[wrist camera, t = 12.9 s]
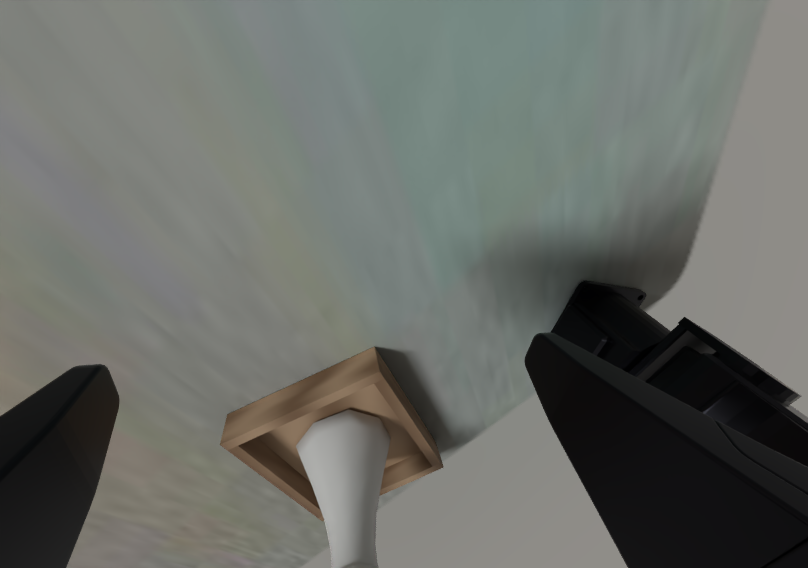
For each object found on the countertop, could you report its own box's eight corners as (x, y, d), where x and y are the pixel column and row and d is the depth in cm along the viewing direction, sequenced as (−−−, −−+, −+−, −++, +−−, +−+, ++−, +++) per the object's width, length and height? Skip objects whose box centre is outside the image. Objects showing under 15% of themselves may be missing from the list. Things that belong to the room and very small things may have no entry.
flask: (349, 394, 27) (365, 544, 18) (404, 433, 30) (438, 571, 22) (279, 444, 28) (263, 606, 19) (340, 474, 32) (349, 621, 23)
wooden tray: (374, 346, 26) (379, 371, 24) (435, 442, 33) (443, 467, 31) (227, 414, 26) (219, 444, 24) (321, 493, 34) (322, 521, 32)
